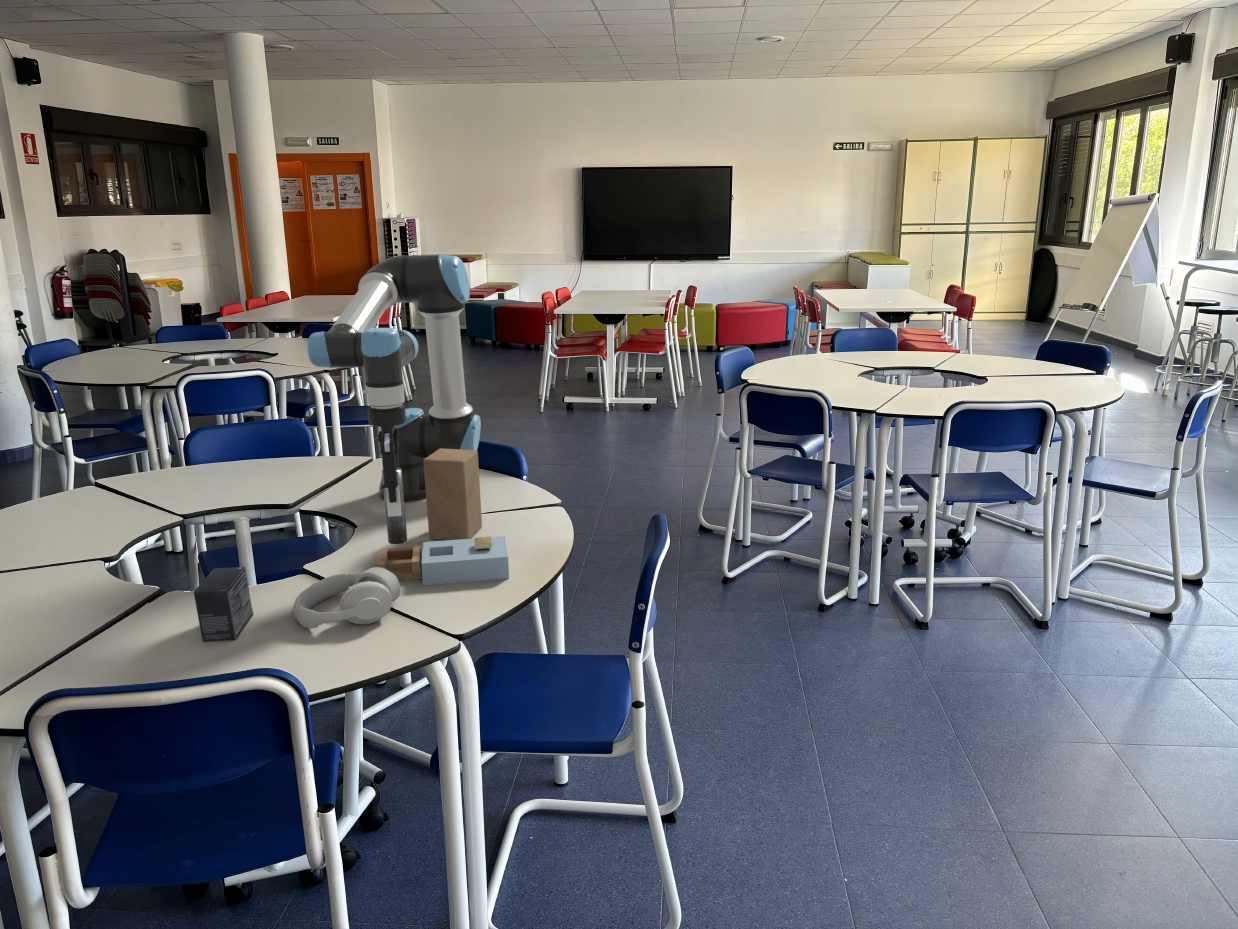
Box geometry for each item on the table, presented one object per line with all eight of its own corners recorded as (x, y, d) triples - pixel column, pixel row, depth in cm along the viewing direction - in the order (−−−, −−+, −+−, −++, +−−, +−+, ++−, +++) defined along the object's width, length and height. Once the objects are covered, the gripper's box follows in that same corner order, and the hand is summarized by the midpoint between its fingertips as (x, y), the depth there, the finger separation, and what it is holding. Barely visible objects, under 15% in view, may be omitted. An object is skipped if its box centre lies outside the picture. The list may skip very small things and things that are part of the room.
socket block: (424, 563, 193) (423, 542, 192) (505, 556, 197) (504, 536, 195) (423, 585, 182) (421, 563, 181) (509, 578, 185) (508, 556, 184)
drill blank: (388, 538, 188) (382, 467, 183) (407, 536, 189) (401, 466, 184) (387, 545, 184) (381, 473, 180) (406, 543, 185) (400, 472, 180)
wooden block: (468, 542, 205) (463, 461, 199) (428, 539, 207) (422, 459, 201) (482, 527, 214) (478, 449, 208) (444, 524, 216) (439, 447, 210)
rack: (381, 565, 192) (379, 548, 191) (422, 562, 194) (421, 545, 193) (378, 582, 184) (376, 565, 183) (421, 578, 185) (419, 561, 184)
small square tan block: (475, 561, 191) (474, 537, 189) (492, 560, 192) (490, 536, 190) (476, 568, 188) (474, 544, 186) (492, 567, 188) (491, 542, 187)
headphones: (413, 590, 179) (320, 600, 181) (405, 555, 177) (311, 566, 179) (386, 632, 161) (283, 644, 163) (376, 594, 159) (273, 606, 161)
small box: (220, 616, 169) (212, 567, 166) (254, 614, 170) (247, 565, 167) (199, 642, 159) (191, 590, 156) (236, 641, 160) (228, 589, 157)
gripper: (370, 396, 185) (380, 500, 192) (363, 415, 169) (373, 527, 176) (406, 395, 186) (414, 498, 193) (402, 413, 170) (411, 524, 177)
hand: (395, 511), depth 185 cm, fingers closed on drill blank, 4 cm apart
